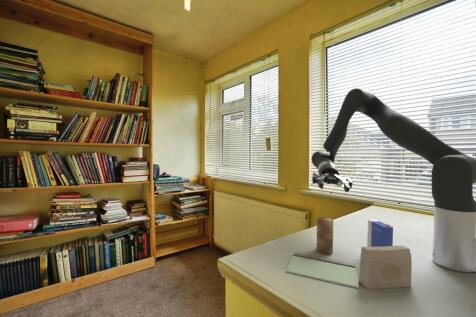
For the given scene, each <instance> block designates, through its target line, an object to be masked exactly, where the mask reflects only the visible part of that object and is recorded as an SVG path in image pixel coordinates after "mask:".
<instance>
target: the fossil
mask: <svg viewBox="0 0 476 317" xmlns="http://www.w3.org/2000/svg"><path fill="white" fill-rule="evenodd" d="M359 260H360V262H359V278H358V283H360V285H362V286H363V288H365V289H367V290H380V289H381V290H382V289H383V290H384V289H396V288H398V289H399V288H410V287H412V266H413V265H412V264H413V263H412V254H411V249H410V248H409V247H406V246H404V245H393V246H385V247H367V246H361V249H360V259H359Z"/></svg>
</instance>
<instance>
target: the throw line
mask: <svg viewBox="0 0 476 317" xmlns="http://www.w3.org/2000/svg"><path fill="white" fill-rule="evenodd" d="M293 256H296V257H301V258H306V259H311V260H317V261H322V262H327V263H332V264H337V265H342V266H347V267H352V268H356V267H357V265H356V264H355V263H351V262H344V261H339V260H335V259H330V258H324V257H319V256H314V255H309V254H302V253H297V252H294V253H293ZM356 269H357V268H356Z"/></svg>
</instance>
